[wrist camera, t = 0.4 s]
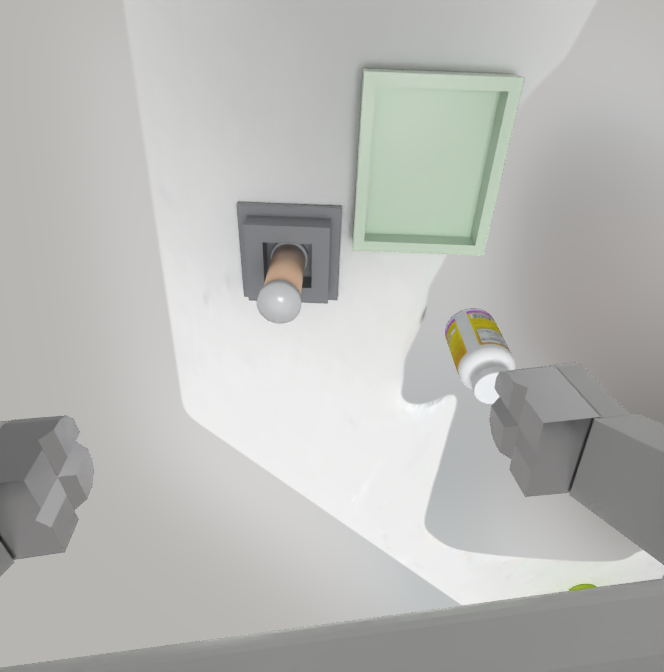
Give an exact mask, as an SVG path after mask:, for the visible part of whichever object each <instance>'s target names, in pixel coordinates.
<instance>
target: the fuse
mask: <svg viewBox="0 0 664 672" xmlns="http://www.w3.org/2000/svg"><path fill="white" fill-rule="evenodd" d="M307 261H308V252H307V249H306V247H305V246H304V245H303V244H291V243H276V244H275V245H274V247H273V250H272V253H271V262H270V266H269V269H268V272H267V276H266V279H265V282H264V286H263V287H262V288H261V290H260V292H259V296H258V299H257V307H258V310H259V312H260V314H261V315H262V316H263V317H264V318H265V319H267V320H268V321H271V322H274V323H287V322H290V321H292V320H293V319H295V318H296V317H297V316H298V314H299V312H300V309H301V302H302V298H301V289H302V283H303V276H304V270H305V267H306V265H307Z"/></svg>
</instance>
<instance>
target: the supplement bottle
mask: <svg viewBox="0 0 664 672" xmlns="http://www.w3.org/2000/svg"><path fill="white" fill-rule="evenodd" d="M445 336H446V339H447V342H448V345H449V348H450V351H451V354H452V357H453V360H454V363H455V366H456V369H457V372H458V375H459V378H460V380H461V381H462V382H463V384H464V385H465V386H466V387H468V388H469V389H471V390H473V392H474V395H475V397H476V398H477V399H478V400H479V401H481V402H483V403H487V404H493V403H494V402H495V401H496V400H497V399H498V398H499V397H500V396H499V395H498V393H497V392H496V390H495V389H494V387H495V382H496V377H497V375H498V374H499V372H500V371H508V370H515V360H514V358H513V356H512V354H511V352H510V350H509V348H508V346H507V344H506V342H505V340H504V338H503V336H502V334H501V332H500V331H499V328H498V327H497V325H496V323H495V322H494V319H493V318H492V316H491V315H490V314H489V313H487V312H486V311H484V310H481V309H475V308H472V309H465V310H462V311H460V312H458V313H456V314H455V315H454V316H453V317H451V319H450V320H449V321H448V323H447V325H446V329H445Z"/></svg>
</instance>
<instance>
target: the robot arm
mask: <svg viewBox="0 0 664 672" xmlns="http://www.w3.org/2000/svg"><path fill="white" fill-rule="evenodd" d="M494 389H495V390H496V392H497V393H498V395H499V396H500V397H499V398H498V399H497V400H496V401H495V402H494V403H493V405H492V406H491V412H490V426H491V433H492V436H493V439H494V442H495V444H496V446H497V448H498V450H499V451H500V452H501V453H502V454H504V455H506V456H507V457H509V458H510V459H512V460H511V464H510V471H511V473H512V475H513V476H514V478H515V480H516V482H517V483H518V485H519V487H520V488H521V490H522V492H523V493H524V496H525V497H527V496H539V495H550V494H561V493H570V496H572V497H573V498H574V499H576V500H577V501H579V502H580V503H581V504H582V505H584V506H585V507H586V508H588V509H589V510H591V511H592V512H593V513H595V514H596V515H598V516H599V517H600V518H601V519H603V520H604V521H605V522H607V523H608V524H609V525H611V526H612V527H614V528H615V529H616V530H618V531H619V532H620V533H622V534H623V535H624V536H626V537H627V538H628V539H630V540H631V541H633V542H634V543H635V544H636V545H638V546H639V547H640V548H642V549H643V550H644V551H646V552H647V553H649V554H650V555H651V556H653V557H654V558H655V559H657V560H658V561H659V562H661V563H662V564H663V565H664V425H663V424H661V423H659V422H656V421H654V420H652V419H649V418H647V417H645V416H643V415H640V414H632V415H630V414H629V413H628V412H627V411H626V410H625V409H624V407H622V406H621V404H620V403H618V401H616V399H615V398H614V397H613V396H612V395H611V394H610V393H609V392H608V391H607V390H606V389H605V388H604V387H603V386H602V385H601V384H600V383H599V382H598V381H597V380H596V379H595V378H594V377H593V376H592V375H591V374H590V373H589V372H588V371H587V370H586V369H585V368H584V367H583V366H582V365H581V364H578V363H576V362H571V363H564V364H555V365H550V366H545V367H537V368H527V369H518V370H508V371H500V372H499V374H498V375H497V377H496V382H495V387H494ZM79 433H80V431H79V428H78V427H77V425H76V423H75V421H74V419H73V418H71V417H69V416H56V417H43V418H30V419H19V420H11V421H0V576H1V575H2V574H3V573H4V572H5V571H6V570H7V569H8V568H9V567H10V566H11V565H12V564H13V563H14V560H15V559H22V558H29V557H36V556H43V555H49V554H56V553H63V552H65V551H66V548H67V546H68V543H69V541H70V539H71V536H72V534H73V532H74V529H75V527H76V525H77V522H78V517H77V515H76V513H75V511H74V510H75V509H76V508H77V507H79V506H80V505H81V504H82V503H83V502H84V501H85V500H87V498H88V496H89V493H90V491H91V488H92V484H93V475H94V468H93V462H92V458H91V455H90V453H89V451H88V449H87V448H85V447H83V446H82V445H81V444H79V443H77V442H76V439H77V437H78V435H79ZM0 672H664V576H663V578H662V579H656V580H648V581H641V582H633V583H626V584H618V585H611V586H603V587H596V588H589V589H581V590H574V591H566V592H559V593H551V594H544V595H537V596H529V597H522V598H514V599H507V600H500V601H492V602H485V603H477V604H470V605H463V606H456V607H449V608H441V609H433V610H426V611H419V612H411V613H404V614H396V615H389V616H382V617H375V618H367V619H359V620H352V621H345V622H338V623H330V624H322V625H315V626H307V627H300V628H293V629H285V630H278V631H270V632H263V633H255V634H248V635H240V636H233V637H225V638H218V639H210V640H203V641H195V642H188V643H181V644H173V645H166V646H158V647H151V648H143V649H136V650H129V651H121V652H113V653H106V654H99V655H91V656H84V657H76V658H69V659H61V660H54V661H46V662H39V663H32V664H24V665H17V666H10V667H2V668H0Z"/></svg>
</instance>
